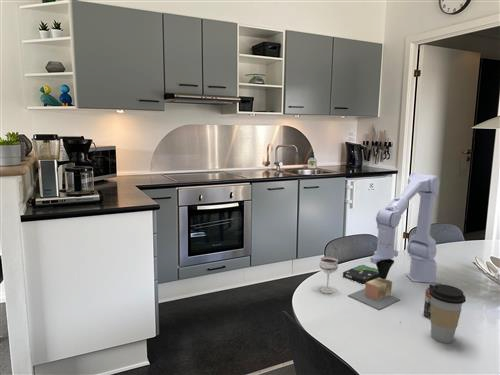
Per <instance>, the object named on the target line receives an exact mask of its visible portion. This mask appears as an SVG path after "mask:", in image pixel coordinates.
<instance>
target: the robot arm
mask: <svg viewBox="0 0 500 375" xmlns="http://www.w3.org/2000/svg"><path fill="white" fill-rule="evenodd" d="M439 189H440V179H439V177H438V176H437V175H435V174H425V173H417V172H412V173H411V174H409V176H408V178H407V185H406V186H405V188H404V189H403V191H402V192H401V194H400V195H398V196H395V197H394V198H393V199H392V200H391V201H390V202H389V203H388V205H387V206H386V207H385V208H383V209H380V210H378V211H377V213H376V217H375V221H376V228H377V230H378V232H377V244H376V250H374V252H373V253H374V254H373V255H372V256H370V263H371V264H373V265H376V269H378V273H379V278H382V279H387V278H388V274H389V272H390V270H391V268H392V266H393V265H394V264H395V259H394V257H398V256H399V251H398V250H395V240H396V239H395V237H396V228H397V227H398V226H399V224H400V222H401V219H402V215H403V214H404V212H405V211H406V210H407V209H408V208H409V201H411V200H412V198H413V197H415V196H416V194H418V196H419V197H420V199H419V206H418V207H419V208H418V216H417V224H416V230H415V234H413V235H411V236H410V237H409V239H408V243H407V246H406V250H407V253H408V255H409V257H410V265H409V272H406V273H405V275H406V276H407V277H408V279H410V281H411V282H413V283H430V282H437V280H436V278H437V277H436V276H437V268H438V266H437V264H438V263H437V261H436V259H435V257H436V254H437V241H436V240H435V239H434V238H433V237H432V236H431V227H432V220H433V219H432V218H433V212H434V204H435V196H438V195H439V191H440V190H439Z"/></svg>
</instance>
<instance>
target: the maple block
mask: <svg viewBox="0 0 500 375" xmlns="http://www.w3.org/2000/svg"><path fill="white" fill-rule="evenodd" d="M392 286H393V281H392V280H389V279H387V278H386V279H382V278H376V279H374V280H371V281H368V282H366V284H365V286H364V288H365V296H367V297H369V298H372V299H374V300H376V301H377V300H379V299H381V298H384V297H386V296H388V295H391V294H392V289H393V288H392ZM391 296H392V295H391Z"/></svg>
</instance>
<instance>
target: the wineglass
mask: <svg viewBox="0 0 500 375" xmlns="http://www.w3.org/2000/svg"><path fill="white" fill-rule="evenodd" d="M319 260H320V262H319V268H320V269H321V271H322V272H323V273H325V274H326V287H320V291H321V292H323V293H324V294H325V293H326V294H332V293H334V291H335V290H334V289H333V288H331V287H329V283H330V282H329V280H330V276H331V274H333V273H335V272H336V271H337V270H338V267H339V263H338V262H339V260H338V259H337V258H336V257H333V256H322V257H320V258H319Z"/></svg>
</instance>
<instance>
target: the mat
mask: <svg viewBox="0 0 500 375" xmlns="http://www.w3.org/2000/svg"><path fill="white" fill-rule="evenodd" d="M347 297H349V298H351V299H354V300H355V301H357V302H360V303H363V304H364V305H366V306H369V307H371V308H373V309H375V310H378V311H381V310H383V309H385V308H387V307H389V306H391V305H393V304H395V303H397V302H400V301H401V298H399V297H395V296H393V295H388V296H386V297H384V298H381V299H379V300H377V301H376V300H374V299H372V298H369V297H367V296H365V287H364V288H362V289H359V290H357V291H355V292H352V293H350V294H347Z"/></svg>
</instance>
